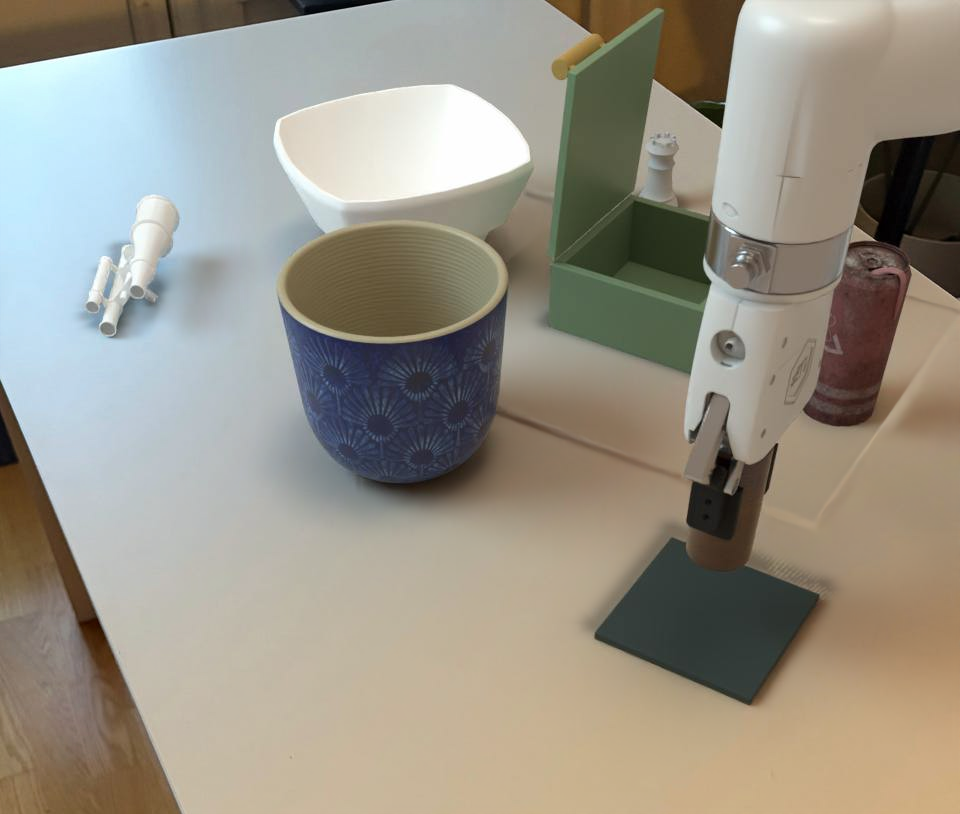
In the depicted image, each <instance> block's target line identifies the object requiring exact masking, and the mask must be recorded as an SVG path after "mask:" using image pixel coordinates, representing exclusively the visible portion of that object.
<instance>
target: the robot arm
mask: <svg viewBox="0 0 960 814" xmlns="http://www.w3.org/2000/svg"><path fill="white" fill-rule="evenodd" d="M729 67H730V68H729V76H728V83H727V90H726V97H725V105H724V111H723V118H722V119H723V120H722V127H721V133H720V134H721V135H720V141H719V147H718V156H717V162H716V169H715V177H714V181H713V182H714V184H713V191H712V196H711V197H712V198H711V205H710V211H709V216H710V217H709V224H708V231H707V239H706V246H705V254H704V260H703V266H704V271H705V273H706V275H707V276H708V278H709V279H710V280H711V281H712V283H711V286H710V290H709V294H708V298H707V302H706V306H705V310H704V314H703V318H702V323H701V327H700V332H699V336H698V341H697V346H696V351H695V356H694V361H693V366H692V371H691V374H690V377H689V383H688V389H687V394H686V395H687V396H686V402H685V410H684V421H683V433H684V437H685V439H686V441H687V443H688V444H690V445H692V444H693V446H692V449H691V451H690V454H689V457H688V459H687V462H686V465H685V467H684V470H683V474H682V475H683V478H684V479H687V480H690V481H691V486H690V493H689V499H688V506H687V511H686V519H685V522H686V525H687V526H688V527H689V526H690V527H692V528H694V529H697V530H700V531H702V532H705V533H707V534H710V535H713V536H715V537H718V538H720V539H723V540H726V541H729V540H731V538H732V537H733V536H734V534H735V531H736V526H737V521H738V515H739V510H740V505H741V500H742V495H743V490H744V488H742V487H740V486H738V485H739V482H740V478H741V475H742V471H743V468H744V464H748V465H751V464H754V463H756V462H758V461H760V460H761V459H763V458H764V457H765V456H766V455H767V454H768V452H769V451H770V450H771V449H772V448H773V446H774V450H773V455H772V460H771V464H770V469H769V474H768V478H767V483H766V488H765V493H764V496H765V495H766V494H767V492H768V491H769V490H770V485H771V481H772V477H773V472H774V468H775V463H776V457H777V453H778V448H779V443H778V441H780V439H781V438H782V437H783V435H784V434H785V433H786V432H787V430H788V429H789V428H790V426H791V425H792V424H793V422H794V421H795V420H796V418H797V417H798V416H799V415H800V413H801V412H802V411H803V408H804V407H805V405H806V404H807V402H808V401H809V399H810V398H811V396H812V394H813V392H814V390H815V388H816V385H817V381H818V376H819V371H820V366H821V361H822V356H823V350H824V345H825V340H826V334H827V329H828V323H829V317H830V312H831V306H832V299H833V292H834V289H835V288H836V286H837V285H838V284H839V282H840V280H841V277H842V272H843V268H844V264H845V260H846V256H847V252H848V247H849V243H851V239H852V238H851V237H852V235H853V234H852V233H853V231H854V226H855V221H856V217H857V214H858V208H859V204H860V200H861V197H862V191H863V187H864V183H865V180H866V174H867V170H868V166H869V161H870V158H871V157H870V156H871V153H872V150H873V149H874V147H875V146H876V145H877V144H879V143H880V142H883V141H890V140H891V141H892V140H898V139H899V140H900V139H909V138H918V137H931V136H938V135H943V134H945V135H946V134H948V133H953V132H957V131H960V0H745V1H744V2H743V4H742V7H741V9H740V11H739V14H738V17H737V23H736V26H735V33H734V39H733V46H732V53H731V61H730V66H729ZM726 432H727V434H728V437H727V436H725V433H726ZM718 452H721V453H724V454H727V455H730V456H732V460H731V463H730V467H729V471H727V470H726V469H725V468H724V467H722V466H719V465H716V464H715V461H716V457H717V454H718Z"/></svg>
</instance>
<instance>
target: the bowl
mask: <svg viewBox="0 0 960 814" xmlns="http://www.w3.org/2000/svg"><path fill="white" fill-rule="evenodd" d="M272 143H273V146H274V147H273V148H274V150H275V153H276V156H277V159H278V161H279V163H280V165H281V166H282V169H283V170H284V172H285V174H286V176H287V178H288V179H289V180H290V182H291V184H292V186H293V187H294V189H295V191H296V192H297V194H298V196H299V197H300V199H301V200H302V202H303V204H304V205H305V207H306V209H307V210H308V212H309V214H310V216H311V217H312V219H313V220H314V222H315V224H316V225H317V226H318V227H319V228H320V229H321V231H323V233H324V234H327V233H329V232H332V231H335V230H338V229H341V228H345V227H348V226H352V225H357V224H362V223H368V222H376V221H388V220H411V221H423V222H431V223H437V224H442V225H446V226H450V227H453V228H457V229H459V230H462V231H465V232H467V233H470V234H472V235H474V236H476V237H478V238H479V239H481V240H483V241H484V242H486V239H487V237H488V235H489V232H492V231H493V230H495V229H496V228H499V227H500V226H502V225H504V224H505V223H506V222H507V220H508V218H509V216H510V214H511V213H512V211H513V209H514V208H515V205H516V204H517V201H518V200H519V198H520V196H521V194H522V192H523V191H524V189H525V187H526V185H527V184H528V182H529V180H530V178H531V175H533V172H534V169H535V168H534V162H533V154H532V149H531V147H530V145H529V144H528V142H527V140H526V139H525V137H524V136H523V134H522V132H521V130H519V129H518V127H517V126H516V125H515V124H514V122H513V121H512V120H511V119H510V118H509V117H508V116H507V115H506V114H504V113H503V112H502V111H501V110H499V109H498V108H497V107H495V106H494V105H493V104H492V103H490V102H488V101H487V100H486V99H484V98H482V97H481V96H480V95H477V94H476V93H474V92H473V91H470V90H467V89H465V88H462V87H460V86H457V85H455V84H451V83H450V84H449V83H446V84H420V85H419V84H418V85H410V86H402V87H393V88H388V89H381V90H376V91H370V92H364V93H358V94H354V95H350V96H349V95H348V96H344V97H341V98H336V99H332V100H329V101H325V102H321V103H318V104H314V105H311V106H307V107H304V108H301V109H299V110H296V111H294V112H291V113H288V114H286V115H284V116H281V117H280V118H278V119H277V121H276V123H275V127H274V134H273V142H272Z"/></svg>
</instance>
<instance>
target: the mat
mask: <svg viewBox="0 0 960 814" xmlns="http://www.w3.org/2000/svg"><path fill="white" fill-rule="evenodd" d="M686 542H687V541H683V540H680V539H678V538H675V537H673V536H672V537H670V539H668V541H667V542H666V543H665V545H664V546H663V547H662V548H661V549H660V551H659V552H658V553H657V555H656V556H655V557H654V558H653V560H652V561H651V562H650V563H649V565H648V566H647V567H646V568H645V570H644V571H642V573H641V574H640V575H639V577H638V578H637V580H636V581H635V582H634V583H633V584H632V586H631V587H630V588H629V589H628V590H627V592H626V593H625V594H624V596H623V597H622V598H621V599H620V600H619V601H618V603H617V604H616V605H615V607H614V608H613V609H612V610H611V612H610V613H609V614H608V615H607V617H606V618H605V619H604V620H603V622H602V623H601V624H600V625H599V626H598V628H597V629H596V631H594V639H595V640H598V641H600V642H603V643H605V644H606V645H609V646H612V647H614V648H615V649H616V648H617V649H619V650H621V651H624V652H625V653H628V654H630V655H633V656H635V657H638V658H639V659H642V660H644V661H646V662H649V663H651V664H654V665H656V666H658V667H660V668H663V669H665V670H667V671H670V672H672V673H674V674H676V675H679V676H681V677H684V678H686V679H688V680H690V681H693V682H695V683H698V684H700V685H702V686H704V687H707V688H709V689H712V690H714V691H716V692H718V693H721V694H723V695H725V696H728V697H730V698H732V699H735V700H737V701H739V702H742V703H744V704H746V705H748V706H749V705H751V704H752V702H754V699H755V698H756V696H757V694H758V693H759V691H760V690H761V688H762V687H763V685H764V684H765V682H767V680H768V678H769V676H770V675H771V674H772V672H773V670H774V669H775V668H776V666H777V664H778V663H779V661H780V660H781V658H782V657H783V655H784V654H785V652H786V650H787V649H788V647H789V646H790V644H791V643H792V641H793V640H794V638H795V637H796V635H797V633H798V632H799V631H800V629H801V628H802V626H803V624H804V623H805V621H807V618H808V617H809V615H810V614H811V612H812V611H813V609H814V608H815V607H816V605H817V603H818V602H819V601H820V597H821V594H820V593H817V592H815V591H812V590H809V589H808V588H804V587H801V586H799V585H796V584H795V583H791V582H789V581H787V580H783V579H781V578H779V577H776V576H773V575H771V574H769V573H766V572H764V571H761V570H758V569H755V568H753V567H750V566H747V565H746V564H745V565H743V566H742V567H740V568H738V569H735V570H731V571H714V570H709V569H706V568H703V567H701V566H699V565H698V564H696V563H695V562H694V561H693V560H692V559H691V558H690V557H689V555H688V553H687V550H686Z"/></svg>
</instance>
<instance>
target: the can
mask: <svg viewBox="0 0 960 814" xmlns="http://www.w3.org/2000/svg"><path fill="white" fill-rule="evenodd" d="M910 265H911V260H910V257H909V256H908V255H907V253H906V252H905V251H904V250H902V249H901V248H899V247H898V246H896V245H892V244H889V243H887V242H883V241H878V240H858V241H852V242H850V243H849V247H848V252H847V256H846V260H845V264H844V268H843V272H842V277H841V280H840V282H839V284H838V285H837V286H836V288H835V289H834V292H833V299H832V306H831V312H830V317H829V323H828V329H827V334H826V340H825V345H824V350H823V356H822V361H821V366H820V371H819V376H818V381H817V385H816V388H815V390H814V392H813V394H812V396H811V398H810V399H809V401H808V402H807V404H806V405H805V407H804V408H803V409H802V411H803V412H804V414H806V415H807V416H808V417H809V418H811V419H812V420H815V421H816V422H818V423H819V424H820V423H821V424H823V425H828V426H831V427H845V428H846V427H853V426H858V425H860V424H863V423H866V422H867V421H868V420H869V419H870V418H871V417H872V416H873V413H874V411H875V407H876V404H877V400H878V396H879V393H880V390H881V386H882V383H883V378H884V375H885V371H886V369H887V365H888V361H889V357H890V353H891V350H892V348H893V347H892V346H893V343H894V339H895V336H896V333H897V328H898V325H899V321H900V319H901V314H902V311H903V308H904V304H905V300H906V297H907V294H908V290H909V287H910V282H911V279H912V275H913V274H912V270H911V266H910Z"/></svg>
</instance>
